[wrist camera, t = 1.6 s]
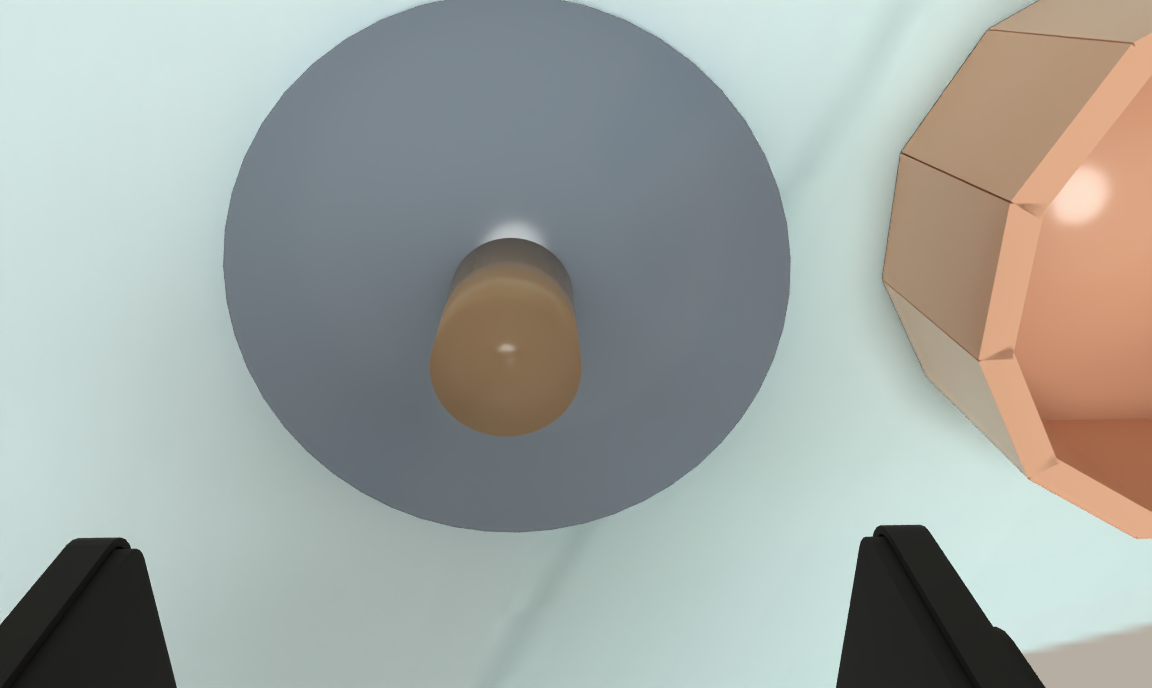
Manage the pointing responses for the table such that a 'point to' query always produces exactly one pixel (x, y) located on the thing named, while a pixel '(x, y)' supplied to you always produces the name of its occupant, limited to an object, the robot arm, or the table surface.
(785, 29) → the table surface
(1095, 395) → the bowl
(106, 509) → the table surface
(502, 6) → the lid
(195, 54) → the table surface
